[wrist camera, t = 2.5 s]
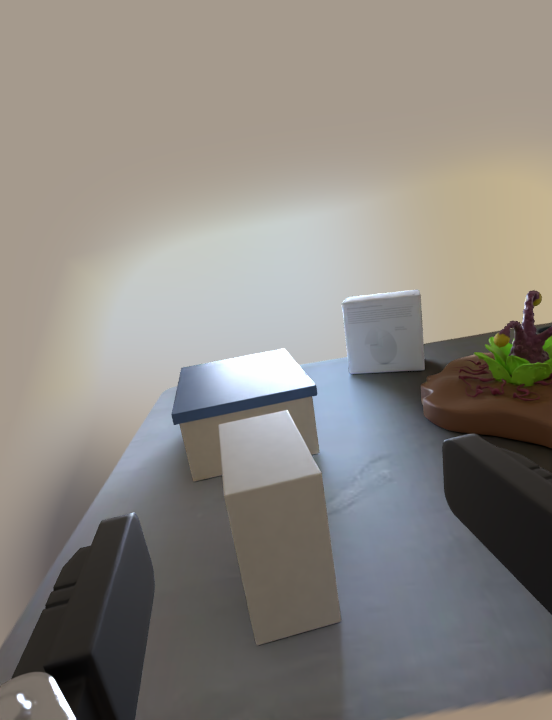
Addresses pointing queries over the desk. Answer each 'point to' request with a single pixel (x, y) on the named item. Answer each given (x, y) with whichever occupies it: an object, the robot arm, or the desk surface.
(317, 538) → the white case
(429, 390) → the plant
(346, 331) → the cosmetics box
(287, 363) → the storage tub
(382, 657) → the desk surface
